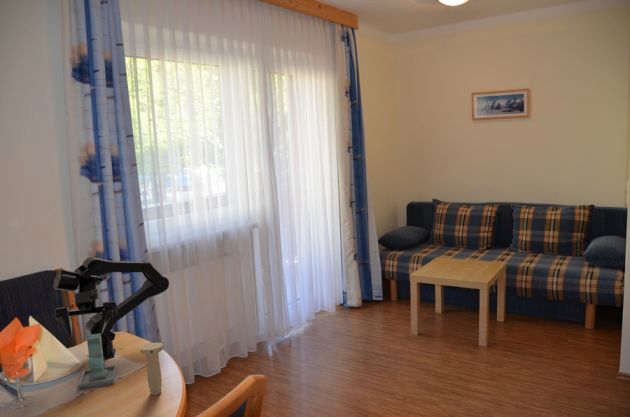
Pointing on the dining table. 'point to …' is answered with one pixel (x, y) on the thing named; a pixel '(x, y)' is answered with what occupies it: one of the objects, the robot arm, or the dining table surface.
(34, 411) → the dining table surface
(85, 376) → the tray
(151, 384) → the handle
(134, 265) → the robot arm
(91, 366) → the teal green tall block
